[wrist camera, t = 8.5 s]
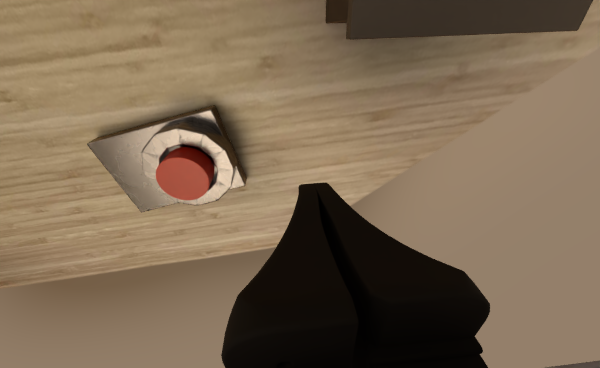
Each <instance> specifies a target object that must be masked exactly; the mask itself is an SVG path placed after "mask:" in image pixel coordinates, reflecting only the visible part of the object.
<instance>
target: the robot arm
mask: <svg viewBox="0 0 600 368" xmlns="http://www.w3.org/2000/svg"><path fill="white" fill-rule="evenodd" d="M489 312H490V304H489V302H488V301H487V299H486V298H485V297H484V295H483V294H482V293H481V291H480V290H479V289H478V287H477V286H476V285H475V284H474V282H473V281H472V280H471V279H470V278H469V277H468V275H467V274H466V273H465V272H464V271H462V270H459V269H457V268H454V267H452V266H450V265H447V264H445V263H442V262H440V261H437V260H435V259H432V258H430V257H428V256H426V255H424V254H422V253H419V252H418V251H416V250H414V249H412V248H410V247H408V246H406V245H404V244H402V243H400V242H399V241H397V240H395V239H393V238H392V237H390V236H388V235H387V234H385V233H384V232H382V231H381V230H379V229H378V228H376V227H375V226H373V225H372V224H371V223H369V222H368V221H367V220H365V219H364V218H363V217H362V216H360V215H359V214H358V213H357V212H356V211H354V210H353V209H352V208H351V207H350V206H349V205H348V204H347V203H346V202H345V201H344V200H343V199H342V198H341V197H340V196H339V195H338V194H337V193H336V192H335V191H334V190H333V188H332V187H331V186H330V185H329V184H328V183H314V184H301V185H300V186H299V195H298V200H297V203H296V207H295V210H294V213H293V215H292V218H291V220H290V223H289V225H288V227H287V229H286V231H285V233H284V235H283V237H282V239H281V241H280V242H279V244H278V246H277V247H276V249H275V250H274V252H273V254H272V255H271V257H270V258H269V259H268V260H267V262H266V263H265V264H264V266H263V267H262V268H261V270H260V271H259V272H258V274H257V275H256V276H255V277H254V278H253V279H252V280H251V281H250V283H249V284H248V285H247V286H246V287H245V288H244V289H243V290H242V291H241V292H240V294H239V295H238V297H237V299H236V301H235V304H234V306H233V309H232V312H231V314H230V317H229V321H228V324H227V328H226V332H225V337H224V343H223V350H222V361H223V363H224V366H225V368H488V367H487V365H486V364H485V362H484V360H483V359H482V357H481V356H480V354H481V353H482V352H483V350H482V347H481V345H480V344H479V342H478V341H477V339H476V338H475V335H476V333H477V332H478V331H479V329H480V328H481V326H482V325H483V324H484V322H485V321H486V319H487V317H488V315H489ZM546 368H600V361H593V362H586V363H578V364H570V365H561V366H555V367H546Z"/></svg>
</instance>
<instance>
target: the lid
mask: <svg viewBox="0 0 600 368" xmlns="http://www.w3.org/2000/svg"><path fill="white" fill-rule="evenodd" d="M592 1H593V0H348V15H347V31H346V39H377V38H402V37H428V36H454V35H479V34H505V33H531V32H556V31H577V30H578V29H579V27H580V25H581V23H582V21H583V19H584V17H585V15H586V13H587V11H588V9H589V7H590V5H591V3H592Z"/></svg>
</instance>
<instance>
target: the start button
mask: <svg viewBox="0 0 600 368" xmlns="http://www.w3.org/2000/svg"><path fill="white" fill-rule="evenodd" d="M213 177H214V166H213V163H212V161H211V160H210V159H209V157H208V156H207V155H206V154H204V153H203V152H201V151H199V150H197V149H195V148H190V147H180V148H176V149H174V150H172V151H171V152H170V153H169V154H168V155H167V156H166V157H165V158H164V160H163V161H162V162H161V163H160V164H159V165H158V167H157V169H156V180H157V182H158V184H159V186H160V187H161V189H162V190H163V191H164V192H166V193H167V194H168V195H170V196H172V197H174V198H177V199H180V200H195V199H198V198H200V197H202V196H203V195H204V194H205V193H206V192H207V191H208V189H209V186H210V184H211V182H212V179H213Z"/></svg>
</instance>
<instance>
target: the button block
mask: <svg viewBox="0 0 600 368" xmlns="http://www.w3.org/2000/svg"><path fill="white" fill-rule="evenodd" d="M87 145H88V146H89V148H90V149H91V150H92V151H93V153H94V154H95V155H96V156H97V158H98V159H99V160H100V161H101V163H102V164H103V165H104V166H105V168H106V169H107V170H108V171H109V173H110V174H111V175H112V176H113V178H114V179H115V180H116V181H117V183H118V184H119V185H120V186H121V188H122V189H123V190H124V191H125V193H126V194H127V195H128V196H129V198H130V199H131V200H132V201H133V203H134V204H135V205H136V206H137V208H138V209H139V210H140V211H141V212H145V211H149V210H153V209H156V208H160V207H164V206H168V205H172V204H176V203H185V204H192V205H202V204H206V203H210V202H214V201H217V200H219V199H220V198H221V197H222V196H223V195H224V194H225V193H226V192H227V191H228V190H230V189H234V188H238V187H242V186H245V184H246V179H247V178H246V176H245V173H244V171H243V169H242V166H241V164H240V162H239V159H238V157H237V155H236V153H235V150H234V148H233V146H232V143H231V141H230V139H229V136H228V134H227V132H226V130H225V127H224V125H223V123H222V120H221V118H220V116H219V113H218V111H217V109H216V107H215V105H212V106H209V107H205V108H202V109H198V110H194V111H191V112H187V113H184V114H180V115H177V116H173V117H169V118H166V119H162V120H159V121H155V122H151V123H148V124H144V125H141V126H137V127H134V128H130V129H126V130H123V131H119V132H116V133H112V134H109V135H105V136H101V137H98V138H96V139H94V140H92V141H91V142H89V143H87ZM180 147H190V148H195V149H197V150H199V151H201V152H203V153H204V154H206V155H207V156H208V157H209V159H210V160H211V161H212V163H213V166H214V177H213V179H212V182H211V184H210V186H209V189H208V191H207V192H206V193H205V194H204V195H203V196H202V197H200V198H198V199H195V200H180V199H177V198H174V197H172V196H170V195H168V194H167V193H166V192H164V191H163V190H162V189H161V187H160V186H159V184H158V182H157V180H156V169H157V167H158V165H159V164H160V163H161V162H162V161H163V160H164V158H165V157H166V156H167V155H168V154H169V153H170V152H171V151H172V150H174V149H176V148H180Z"/></svg>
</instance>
